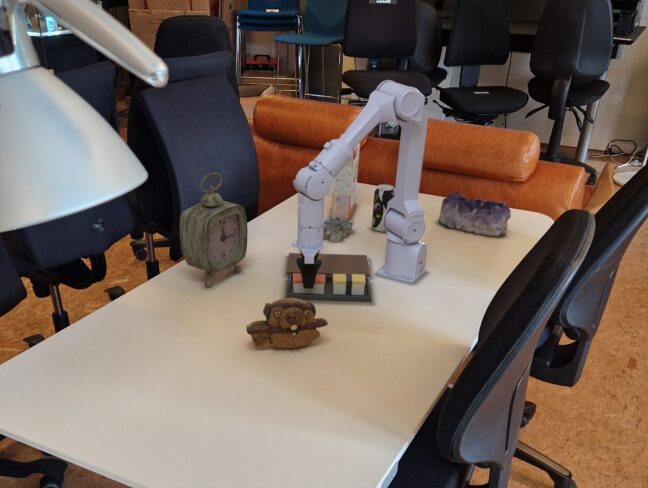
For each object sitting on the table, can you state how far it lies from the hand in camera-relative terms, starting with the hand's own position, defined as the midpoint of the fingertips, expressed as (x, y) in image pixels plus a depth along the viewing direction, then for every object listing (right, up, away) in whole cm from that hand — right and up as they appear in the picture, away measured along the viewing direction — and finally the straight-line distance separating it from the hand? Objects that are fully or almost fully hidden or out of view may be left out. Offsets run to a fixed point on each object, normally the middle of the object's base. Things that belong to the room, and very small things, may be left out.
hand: (308, 281), depth 167 cm
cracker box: (+12, +28, +48) cm, 57 cm away
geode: (+47, +21, +37) cm, 64 cm away
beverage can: (+22, +20, +36) cm, 47 cm away
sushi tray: (+5, -2, +1) cm, 5 cm away
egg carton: (+8, +18, +32) cm, 38 cm away
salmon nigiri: (0, -2, +1) cm, 2 cm away
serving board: (+5, +5, +13) cm, 15 cm away
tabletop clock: (-22, +2, +8) cm, 24 cm away
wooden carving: (-5, -17, -20) cm, 27 cm away
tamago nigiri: (+9, -2, +1) cm, 9 cm away
